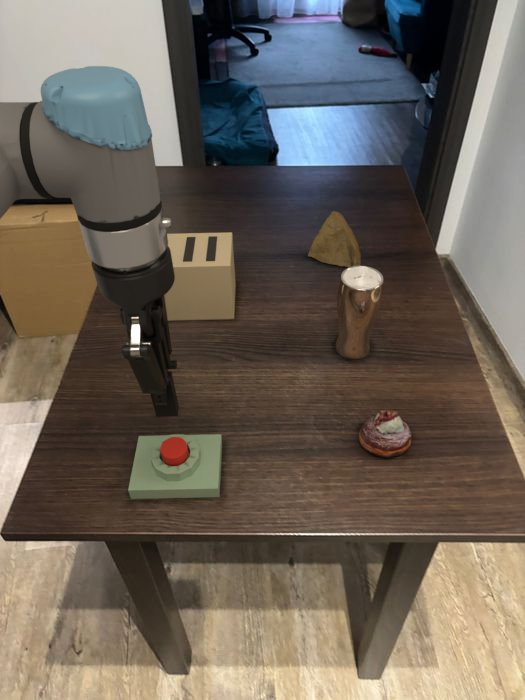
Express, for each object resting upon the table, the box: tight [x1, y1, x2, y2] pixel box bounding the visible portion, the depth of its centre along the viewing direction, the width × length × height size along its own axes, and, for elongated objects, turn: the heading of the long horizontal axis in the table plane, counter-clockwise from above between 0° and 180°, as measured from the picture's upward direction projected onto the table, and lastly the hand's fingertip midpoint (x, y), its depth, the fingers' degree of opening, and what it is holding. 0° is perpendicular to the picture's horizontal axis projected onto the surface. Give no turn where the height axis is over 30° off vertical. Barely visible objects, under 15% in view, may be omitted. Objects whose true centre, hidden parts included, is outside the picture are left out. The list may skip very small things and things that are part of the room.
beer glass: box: [334, 265, 384, 360], centre depth 87 cm, size 7×7×15 cm
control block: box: [127, 433, 223, 500], centre depth 73 cm, size 12×9×4 cm
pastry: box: [358, 409, 413, 459], centre depth 76 cm, size 8×8×5 cm
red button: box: [160, 437, 188, 466], centre depth 71 cm, size 4×4×2 cm
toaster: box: [164, 231, 236, 322], centre depth 98 cm, size 16×11×12 cm
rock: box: [307, 210, 362, 268], centre depth 109 cm, size 11×9×10 cm
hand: (167, 411), depth 66 cm, fingers closed
